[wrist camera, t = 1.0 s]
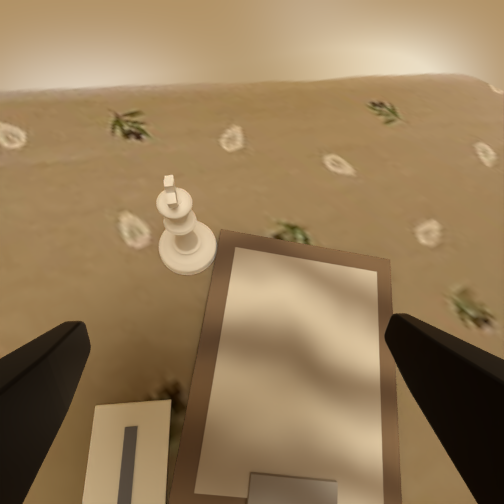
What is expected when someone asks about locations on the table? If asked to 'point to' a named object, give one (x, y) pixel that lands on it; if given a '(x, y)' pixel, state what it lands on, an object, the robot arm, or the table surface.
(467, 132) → the table surface
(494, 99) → the table surface
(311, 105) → the table surface
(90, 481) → the plate
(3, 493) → the robot arm
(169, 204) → the chess piece
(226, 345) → the clipboard
